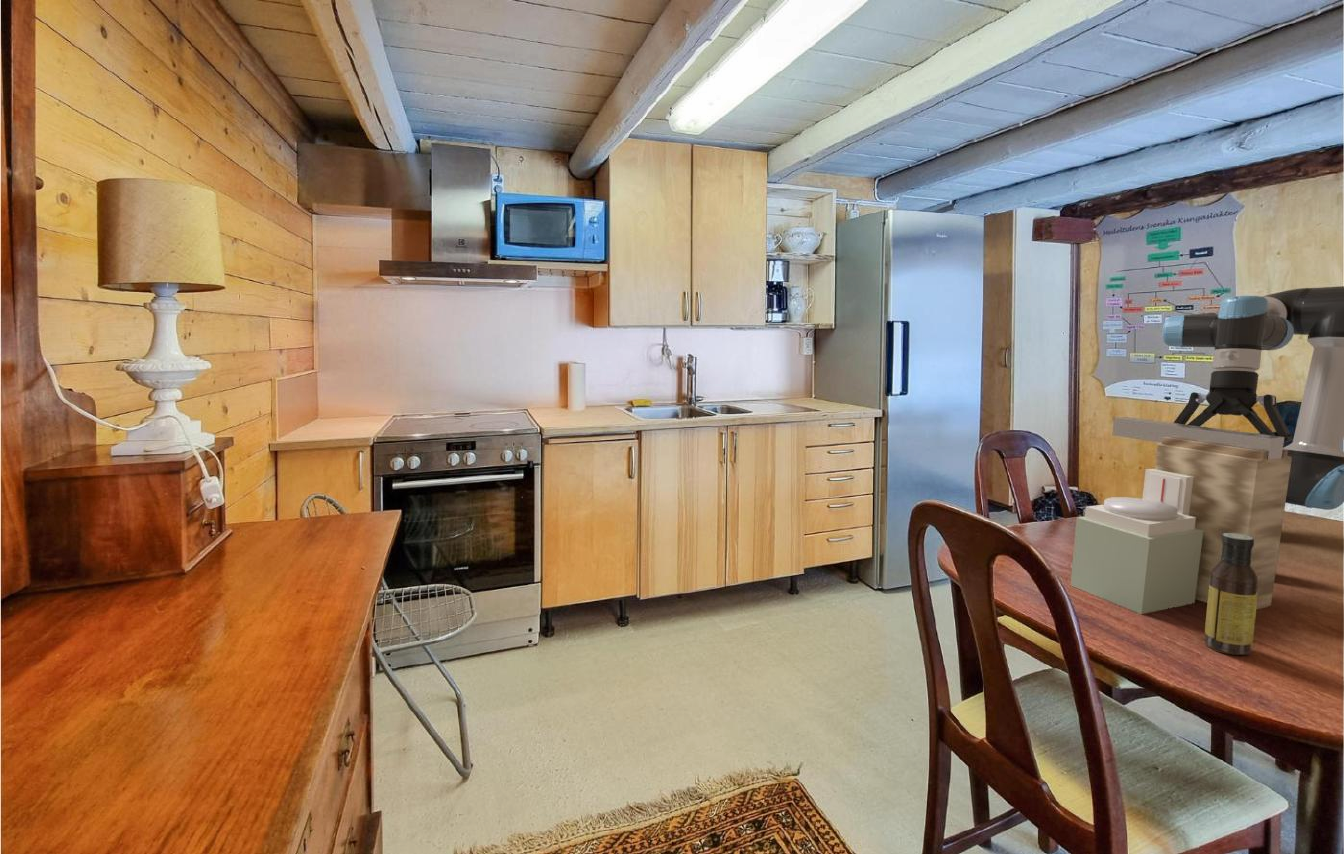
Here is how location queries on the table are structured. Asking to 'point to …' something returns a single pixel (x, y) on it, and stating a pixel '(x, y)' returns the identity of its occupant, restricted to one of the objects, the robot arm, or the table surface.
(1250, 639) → the sauce bottle
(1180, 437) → the bar
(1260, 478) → the birch stand
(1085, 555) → the block
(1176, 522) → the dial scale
